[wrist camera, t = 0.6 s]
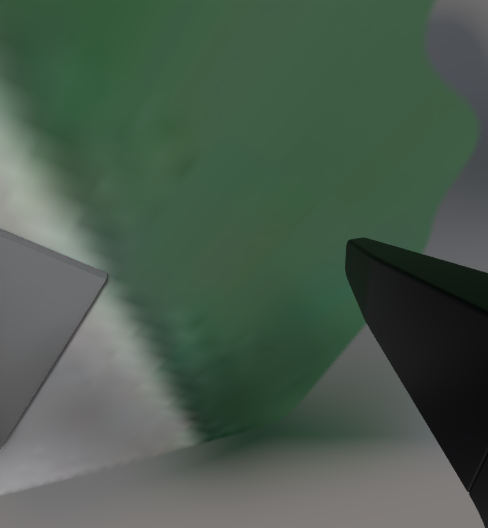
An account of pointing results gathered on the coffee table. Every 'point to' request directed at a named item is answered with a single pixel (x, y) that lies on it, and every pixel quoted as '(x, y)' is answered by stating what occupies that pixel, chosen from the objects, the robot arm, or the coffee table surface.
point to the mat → (36, 317)
